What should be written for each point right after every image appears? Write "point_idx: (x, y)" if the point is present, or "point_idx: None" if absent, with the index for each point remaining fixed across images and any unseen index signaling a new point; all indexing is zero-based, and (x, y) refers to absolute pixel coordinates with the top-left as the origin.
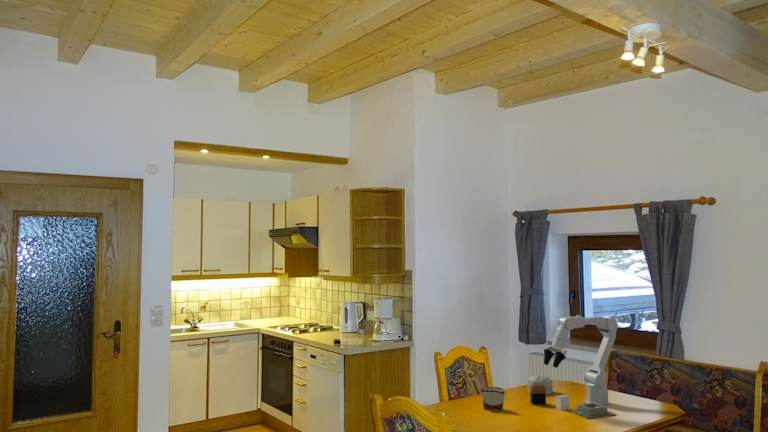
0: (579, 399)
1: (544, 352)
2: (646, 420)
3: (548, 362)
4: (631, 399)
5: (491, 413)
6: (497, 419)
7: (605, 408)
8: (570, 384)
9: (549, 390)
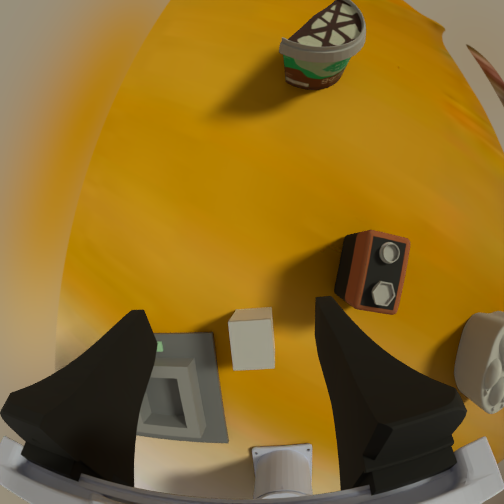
0: None
1: (412, 378)
2: None
3: (322, 360)
4: None
5: (267, 45)
6: (196, 43)
7: None
8: None
9: (461, 381)
